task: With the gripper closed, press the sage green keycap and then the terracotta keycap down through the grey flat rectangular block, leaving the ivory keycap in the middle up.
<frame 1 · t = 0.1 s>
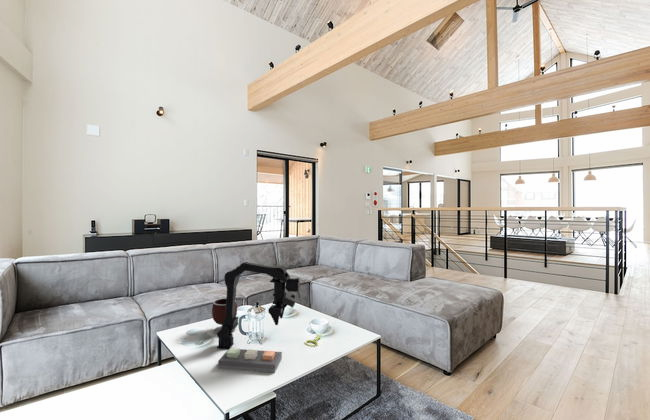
hand: (279, 321, 157), 15 cm above the table, tool pointing down, fingers open, 9 cm apart
key: (314, 343, 167), on the table
mate gourd: (225, 330, 181), on the table
terracotta keycap: (268, 355, 142), point 4 cm above the table, slide at 0.0 cm
grey flat rectangular block: (250, 363, 143), on the table
sage keycap: (233, 353, 144), point 4 cm above the table, slide at 0.0 cm
ivory keycap: (251, 354, 143), point 4 cm above the table, slide at 0.0 cm
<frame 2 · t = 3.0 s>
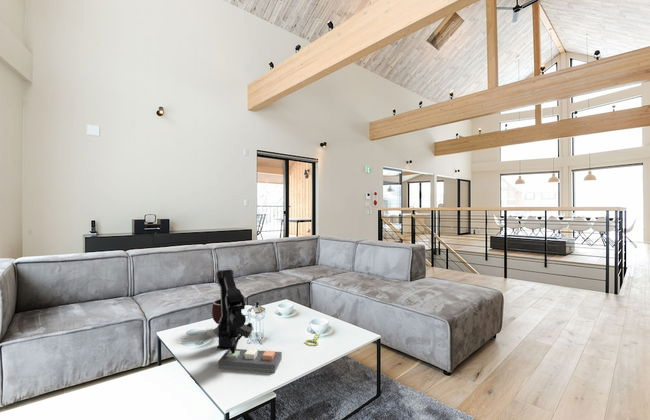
hand: (233, 353, 144), 4 cm above the table, tool pointing down, fingers closed, pressing on sage keycap
sage keycap: (233, 355, 144), point 3 cm above the table, slide at 1.1 cm, touching gripper
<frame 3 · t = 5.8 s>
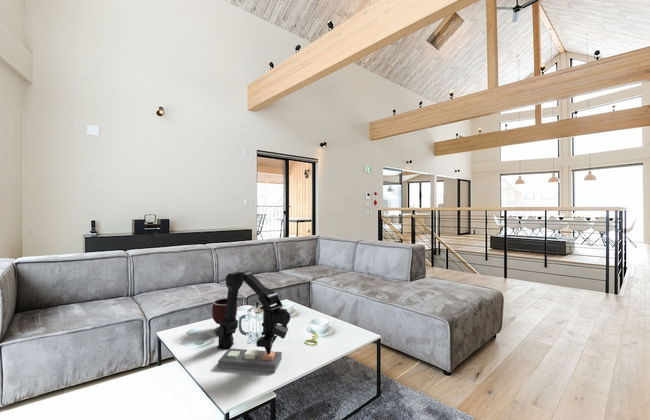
hand: (268, 353, 142), 5 cm above the table, tool pointing down, fingers closed, pressing on terracotta keycap
terracotta keycap: (268, 356, 142), point 4 cm above the table, slide at 0.2 cm, touching gripper
sage keycap: (233, 355, 144), point 3 cm above the table, slide at 1.2 cm
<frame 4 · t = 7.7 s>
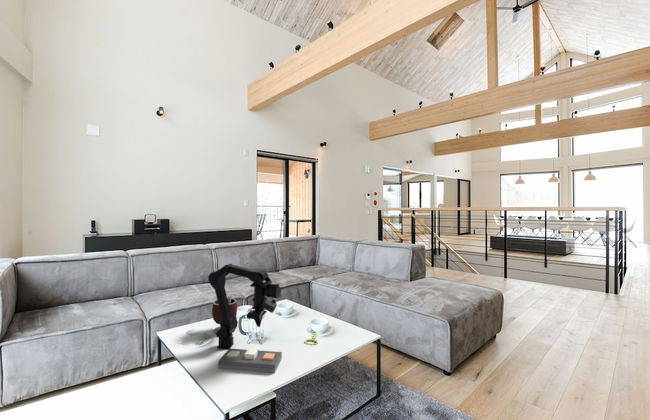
hand: (258, 326, 154), 13 cm above the table, tool pointing down, fingers closed
terracotta keycap: (268, 358, 142), point 3 cm above the table, slide at 1.2 cm
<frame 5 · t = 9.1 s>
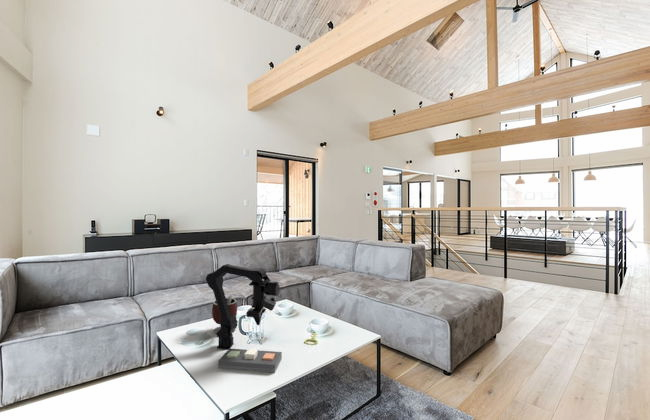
hand: (258, 325, 156), 13 cm above the table, tool pointing down, fingers closed
at the end: sage keycap slide at 1.2 cm; terracotta keycap slide at 1.2 cm; ivory keycap slide at 0.0 cm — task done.
